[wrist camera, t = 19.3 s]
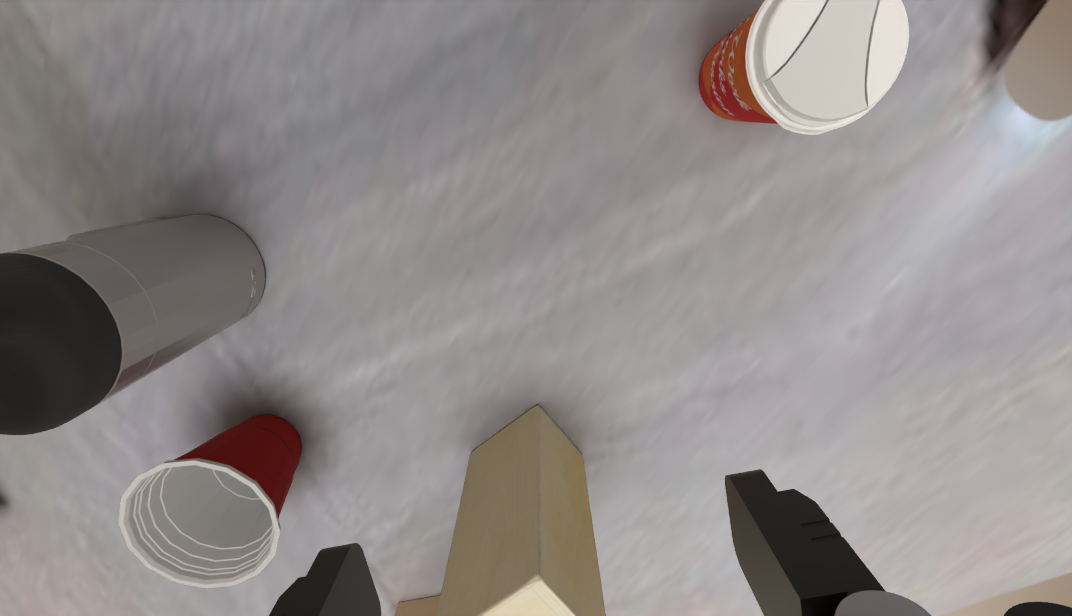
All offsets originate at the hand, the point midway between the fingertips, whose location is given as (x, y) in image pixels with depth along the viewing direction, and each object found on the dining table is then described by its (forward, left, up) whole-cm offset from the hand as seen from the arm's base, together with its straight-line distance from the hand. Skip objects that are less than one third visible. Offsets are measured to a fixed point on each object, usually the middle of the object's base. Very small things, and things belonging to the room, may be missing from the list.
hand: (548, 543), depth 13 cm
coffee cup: (+10, +17, -36) cm, 41 cm away
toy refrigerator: (+5, -18, -36) cm, 41 cm away
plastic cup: (-17, -24, -36) cm, 47 cm away
